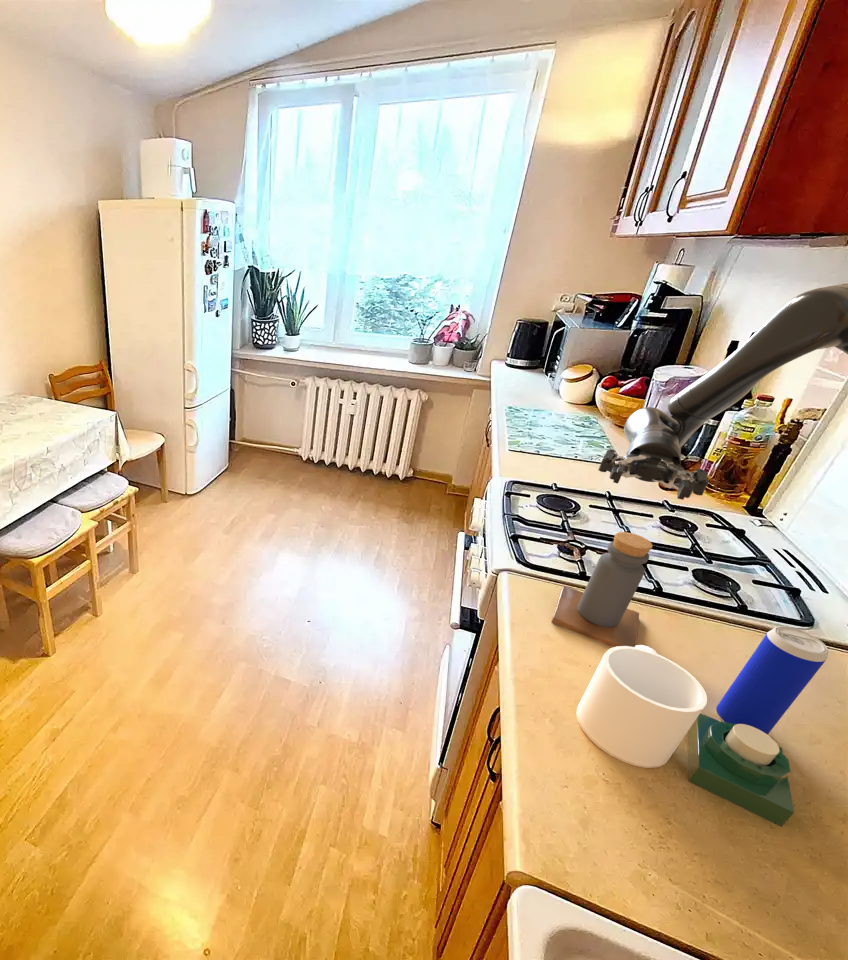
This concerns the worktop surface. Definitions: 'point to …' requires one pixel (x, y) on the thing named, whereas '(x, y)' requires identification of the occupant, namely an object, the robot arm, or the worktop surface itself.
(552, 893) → the worktop surface
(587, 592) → the bottle
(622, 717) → the mug
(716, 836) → the worktop surface
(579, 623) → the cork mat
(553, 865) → the worktop surface
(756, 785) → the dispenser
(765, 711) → the beverage can
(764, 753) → the cream disc
